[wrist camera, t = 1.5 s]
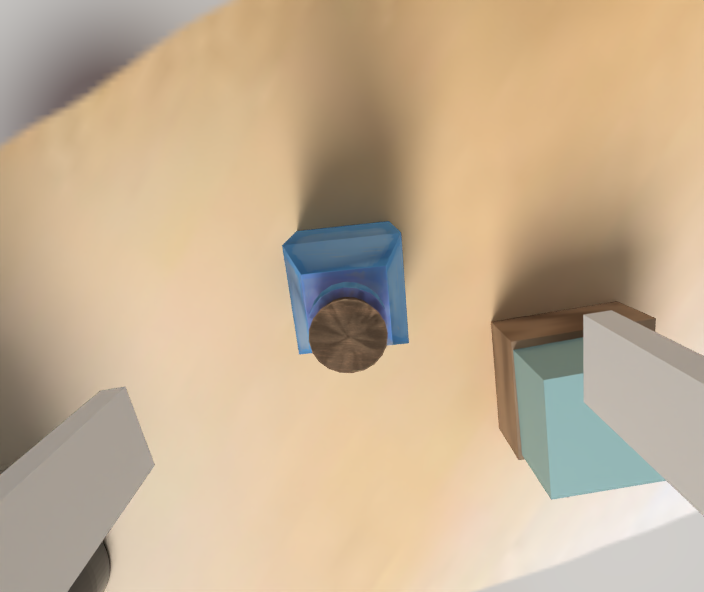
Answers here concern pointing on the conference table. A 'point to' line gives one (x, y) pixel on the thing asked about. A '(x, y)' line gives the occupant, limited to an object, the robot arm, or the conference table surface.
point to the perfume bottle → (347, 293)
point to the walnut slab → (532, 334)
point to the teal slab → (569, 427)
